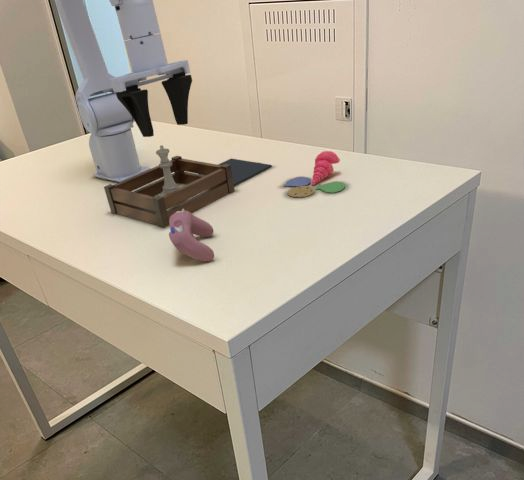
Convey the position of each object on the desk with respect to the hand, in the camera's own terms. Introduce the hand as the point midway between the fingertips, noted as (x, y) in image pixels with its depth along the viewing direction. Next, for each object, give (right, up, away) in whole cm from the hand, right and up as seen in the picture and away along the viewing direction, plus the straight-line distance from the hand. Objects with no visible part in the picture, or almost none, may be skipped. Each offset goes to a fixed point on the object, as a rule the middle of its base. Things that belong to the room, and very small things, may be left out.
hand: (166, 130), depth 91 cm
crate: (0, -10, +8) cm, 13 cm away
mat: (+10, -1, +17) cm, 20 cm away
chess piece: (0, -10, +8) cm, 13 cm away
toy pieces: (+25, -7, +7) cm, 27 cm away
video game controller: (+6, -22, -9) cm, 24 cm away
